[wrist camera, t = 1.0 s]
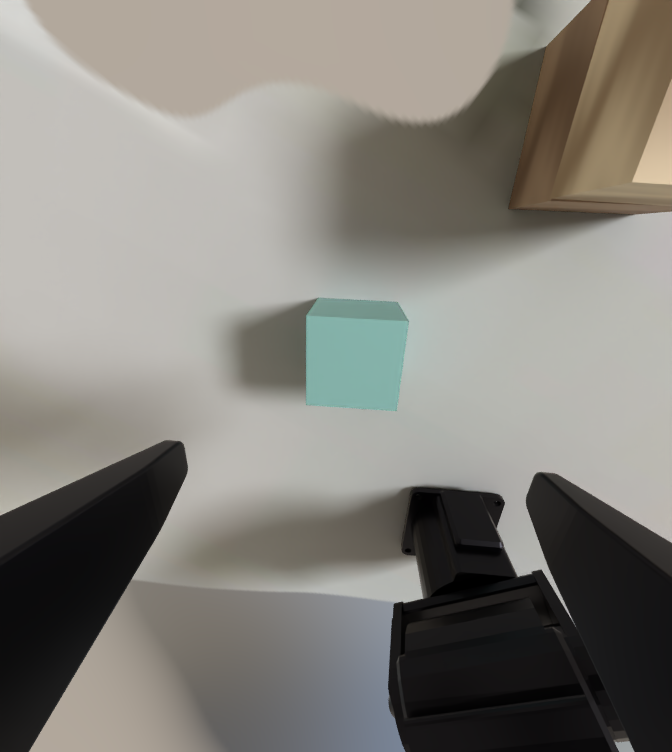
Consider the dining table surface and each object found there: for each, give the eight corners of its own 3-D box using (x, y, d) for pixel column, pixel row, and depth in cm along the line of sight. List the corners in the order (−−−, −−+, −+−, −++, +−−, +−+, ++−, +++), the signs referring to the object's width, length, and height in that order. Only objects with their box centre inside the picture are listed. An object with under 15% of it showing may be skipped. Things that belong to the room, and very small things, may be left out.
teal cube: (389, 374, 20) (396, 411, 16) (317, 370, 20) (306, 405, 16) (397, 301, 18) (408, 321, 14) (318, 297, 18) (306, 315, 14)
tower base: (631, 214, 15) (716, 207, 12) (506, 209, 16) (550, 200, 12) (693, 51, 13) (823, -21, 9) (544, 48, 13) (613, -22, 10)
